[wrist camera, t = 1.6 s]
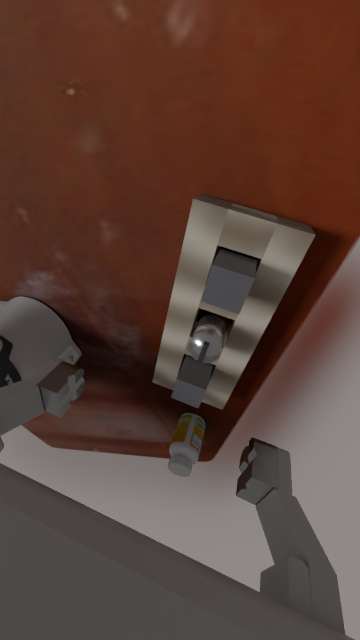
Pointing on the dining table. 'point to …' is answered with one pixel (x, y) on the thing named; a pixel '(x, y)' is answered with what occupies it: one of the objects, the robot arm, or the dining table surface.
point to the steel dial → (207, 339)
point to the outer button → (229, 281)
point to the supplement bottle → (186, 444)
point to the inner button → (192, 382)
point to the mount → (262, 300)
